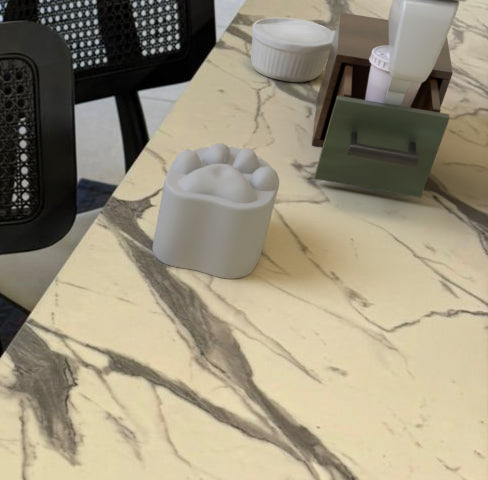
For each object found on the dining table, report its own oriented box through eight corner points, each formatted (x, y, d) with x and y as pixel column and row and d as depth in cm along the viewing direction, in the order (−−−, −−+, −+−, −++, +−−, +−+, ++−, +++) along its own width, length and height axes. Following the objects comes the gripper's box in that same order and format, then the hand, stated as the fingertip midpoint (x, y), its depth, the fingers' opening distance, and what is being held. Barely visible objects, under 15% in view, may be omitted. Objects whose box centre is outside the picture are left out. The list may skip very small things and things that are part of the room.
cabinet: (420, 164, 119) (452, 72, 112) (311, 145, 121) (336, 54, 114) (416, 114, 130) (446, 28, 123) (317, 97, 132) (340, 12, 125)
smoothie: (334, 141, 113) (372, 8, 104) (364, 128, 117) (403, -2, 108) (385, 161, 110) (429, 26, 101) (414, 147, 114) (459, 15, 105)
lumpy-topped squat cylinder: (143, 259, 98) (158, 174, 92) (173, 202, 107) (188, 122, 101) (250, 284, 96) (273, 199, 90) (271, 224, 105) (292, 143, 99)
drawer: (422, 217, 107) (452, 136, 101) (312, 197, 108) (335, 116, 103) (417, 145, 121) (443, 70, 115) (319, 128, 123) (340, 53, 117)
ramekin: (282, 50, 145) (291, 11, 141) (343, 77, 138) (355, 37, 135) (226, 63, 139) (235, 22, 136) (287, 91, 133) (298, 50, 130)
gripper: (401, -75, 109) (362, 57, 118) (404, -23, 94) (359, 124, 103) (462, -67, 108) (418, 66, 117) (475, -12, 93) (423, 135, 102)
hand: (390, 94), depth 110 cm, fingers closed on smoothie, 6 cm apart
